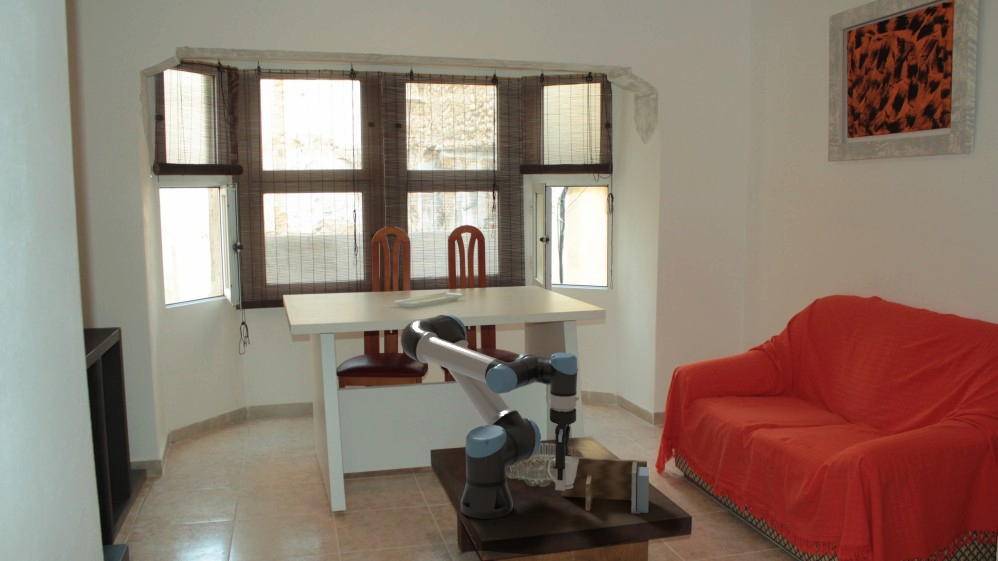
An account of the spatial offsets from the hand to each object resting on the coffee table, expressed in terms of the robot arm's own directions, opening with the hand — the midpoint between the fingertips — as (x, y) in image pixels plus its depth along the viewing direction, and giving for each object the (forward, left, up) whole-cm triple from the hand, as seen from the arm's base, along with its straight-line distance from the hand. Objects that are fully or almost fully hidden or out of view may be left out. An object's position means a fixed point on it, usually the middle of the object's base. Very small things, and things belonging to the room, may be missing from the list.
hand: (561, 484), depth 238 cm
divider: (+8, +4, -7) cm, 11 cm away
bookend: (+21, +5, -7) cm, 22 cm away
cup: (0, 0, 0) cm, 0 cm away
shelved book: (+23, +5, -7) cm, 25 cm away
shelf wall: (+12, +10, -7) cm, 17 cm away
